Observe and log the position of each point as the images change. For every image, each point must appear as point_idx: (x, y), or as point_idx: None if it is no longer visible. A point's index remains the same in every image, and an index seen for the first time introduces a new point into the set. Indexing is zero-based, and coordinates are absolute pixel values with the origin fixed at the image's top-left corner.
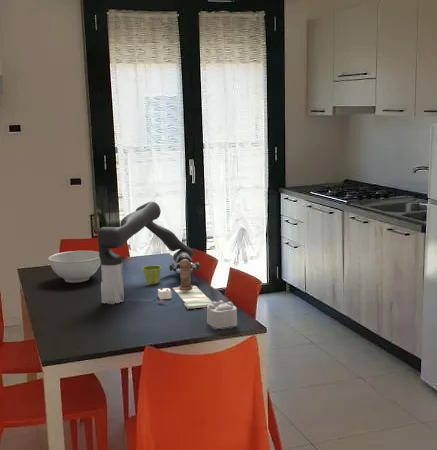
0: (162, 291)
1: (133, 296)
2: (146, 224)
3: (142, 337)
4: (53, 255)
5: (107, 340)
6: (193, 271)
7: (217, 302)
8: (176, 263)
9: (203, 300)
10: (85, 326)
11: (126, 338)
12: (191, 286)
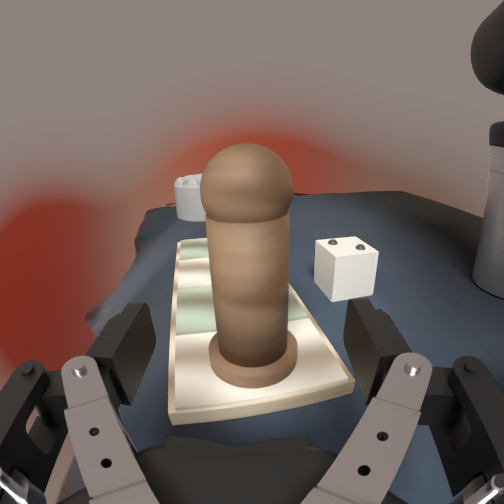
0: (347, 238)
1: (485, 318)
2: None
3: (325, 200)
4: None
5: (368, 199)
6: (152, 344)
7: (197, 184)
8: (417, 422)
9: (201, 253)
10: (432, 217)
11: (346, 200)
12: (216, 336)
